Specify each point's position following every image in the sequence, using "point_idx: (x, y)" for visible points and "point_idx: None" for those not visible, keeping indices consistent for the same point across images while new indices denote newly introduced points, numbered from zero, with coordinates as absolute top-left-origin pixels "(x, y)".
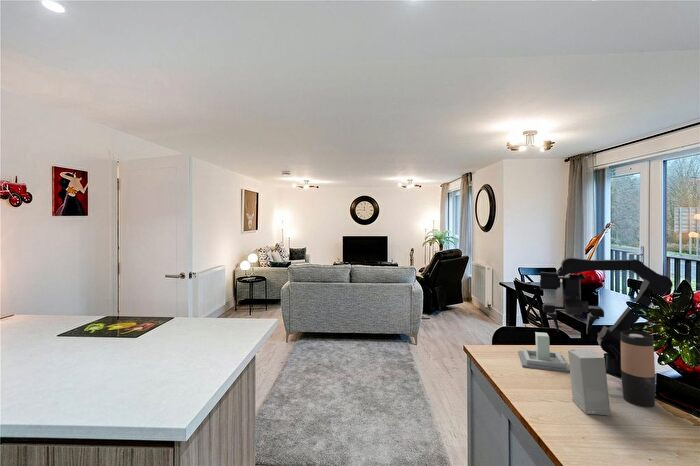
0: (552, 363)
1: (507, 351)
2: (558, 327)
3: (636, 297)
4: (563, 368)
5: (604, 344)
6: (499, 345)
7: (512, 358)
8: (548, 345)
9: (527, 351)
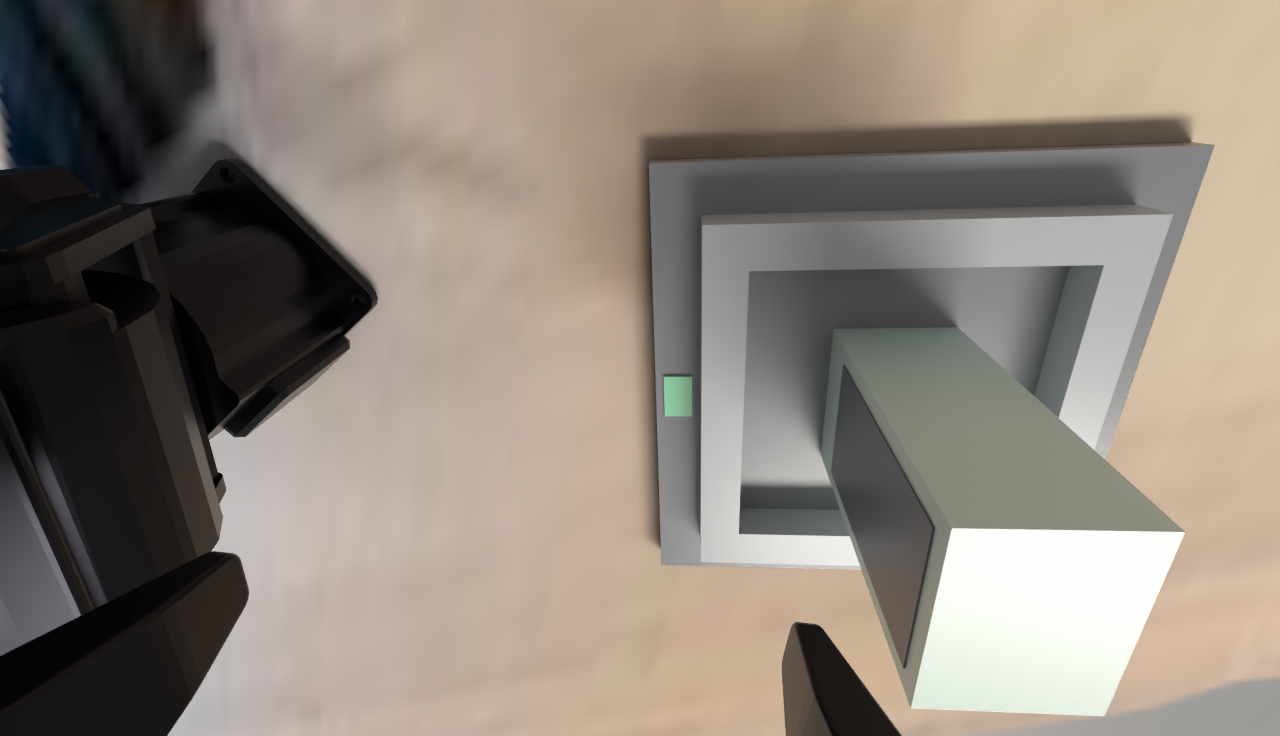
0: (848, 218)
1: None
2: (823, 703)
3: None
4: (730, 190)
5: (30, 302)
6: (1170, 692)
7: (1192, 393)
8: (909, 429)
9: None
